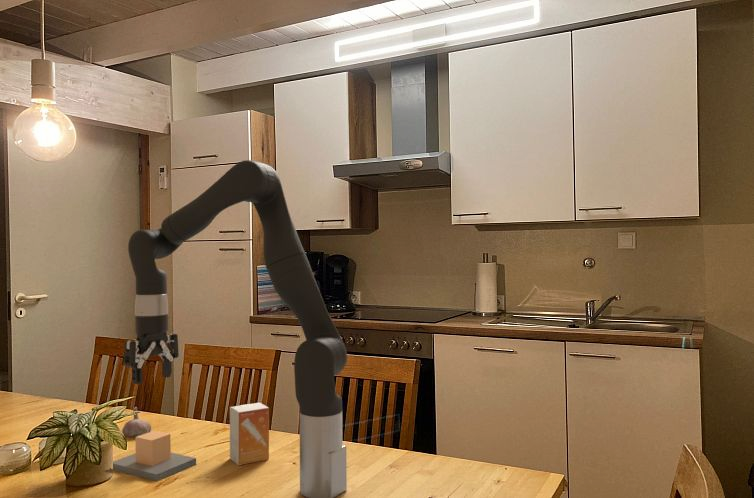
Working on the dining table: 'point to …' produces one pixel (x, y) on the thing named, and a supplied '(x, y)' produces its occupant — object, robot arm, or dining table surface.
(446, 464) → the dining table surface
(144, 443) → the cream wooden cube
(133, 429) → the garlic bulb
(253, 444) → the small box
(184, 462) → the flat gray peg block
